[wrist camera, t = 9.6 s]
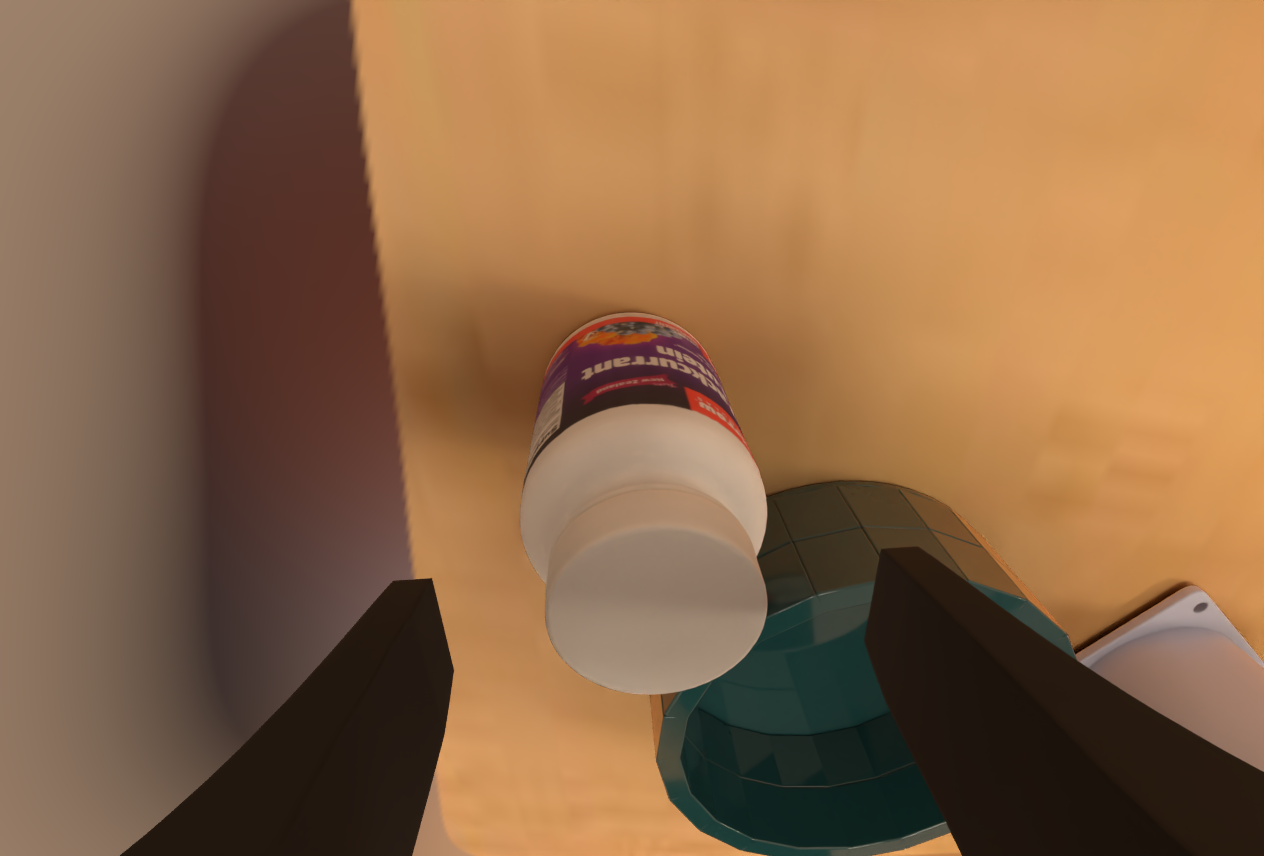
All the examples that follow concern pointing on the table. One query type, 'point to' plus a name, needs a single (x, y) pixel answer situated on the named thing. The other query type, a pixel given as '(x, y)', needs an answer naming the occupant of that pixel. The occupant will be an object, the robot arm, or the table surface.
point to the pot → (822, 684)
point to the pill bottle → (643, 510)
